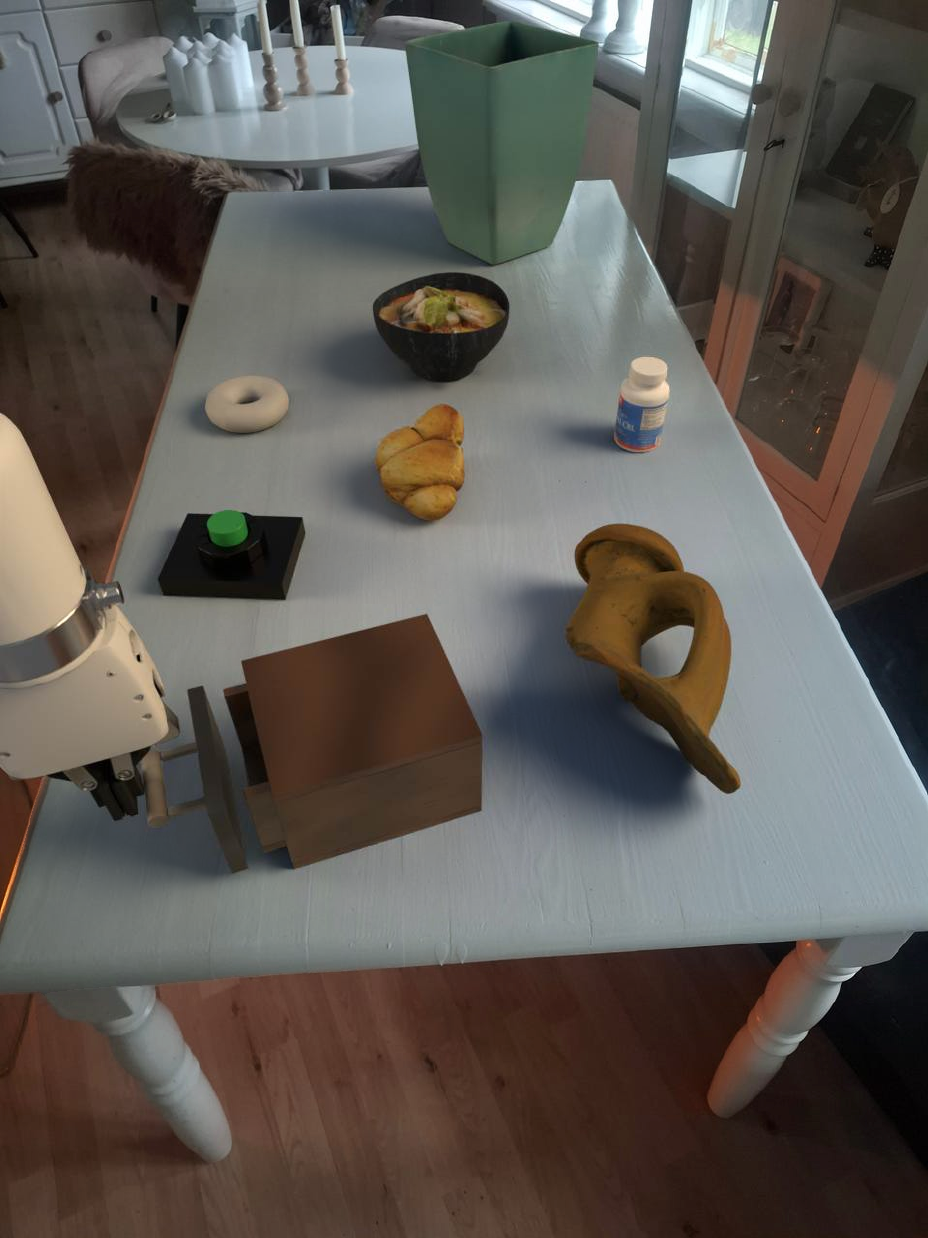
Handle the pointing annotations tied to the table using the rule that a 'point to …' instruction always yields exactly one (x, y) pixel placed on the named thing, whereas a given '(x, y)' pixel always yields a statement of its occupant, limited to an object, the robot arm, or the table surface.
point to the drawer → (218, 778)
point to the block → (234, 560)
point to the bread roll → (424, 463)
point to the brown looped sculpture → (642, 608)
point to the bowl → (442, 323)
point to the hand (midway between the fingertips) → (125, 801)
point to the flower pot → (501, 131)
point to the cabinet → (364, 738)
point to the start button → (227, 528)
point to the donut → (236, 415)
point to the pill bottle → (642, 405)
